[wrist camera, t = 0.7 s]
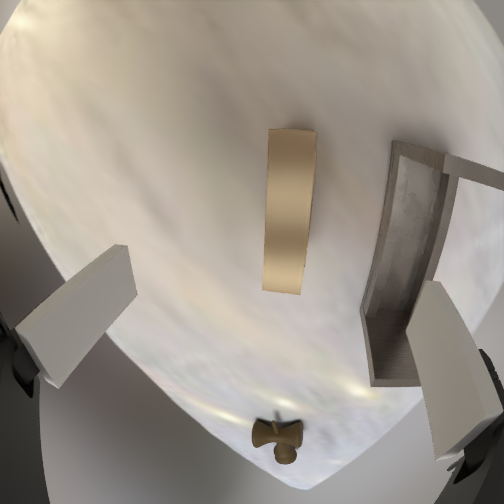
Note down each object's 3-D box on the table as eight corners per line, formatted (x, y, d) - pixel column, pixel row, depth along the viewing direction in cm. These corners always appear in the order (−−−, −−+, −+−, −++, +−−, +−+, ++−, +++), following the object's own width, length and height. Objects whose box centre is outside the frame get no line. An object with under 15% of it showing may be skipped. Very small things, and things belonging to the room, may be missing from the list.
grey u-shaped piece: (392, 140, 23) (445, 153, 12) (449, 154, 22) (517, 178, 11) (359, 310, 32) (370, 386, 22) (408, 314, 31) (432, 385, 20)
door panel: (282, 128, 25) (267, 129, 16) (315, 131, 25) (318, 132, 16) (276, 239, 30) (260, 290, 22) (305, 242, 30) (301, 295, 21)
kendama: (267, 445, 54) (249, 407, 46) (307, 445, 52) (301, 407, 44) (264, 466, 49) (244, 433, 41) (305, 467, 47) (298, 434, 38)
